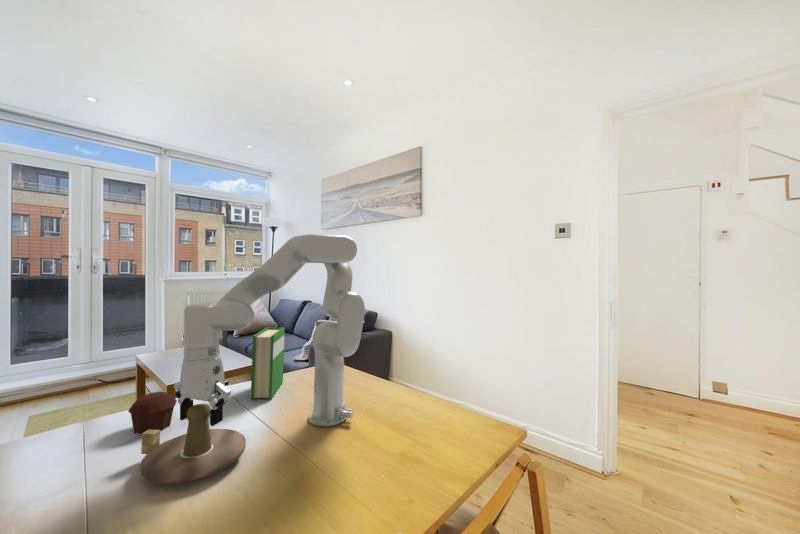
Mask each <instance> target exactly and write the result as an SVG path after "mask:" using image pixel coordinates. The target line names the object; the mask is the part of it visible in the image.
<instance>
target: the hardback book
mask: <svg viewBox="0 0 800 534" xmlns="http://www.w3.org/2000/svg"><path fill="white" fill-rule="evenodd" d="M285 332H286V331H285V327H265V328H264V329H262V330H260V331H258V332H257V333H255V334H253V335H252V353H251V354H252V355H251V356H252V357H251V381H250V383H251V385H250V401H255V400H256V399H268V401H272V400H273V399H274V397H275V396H274V395H276V394H277V393H278V391H279V390H280V389H281V387H282V386H283V384H284V383H283V382H284V358H285V357H284V356H285ZM282 383H283V384H282ZM281 385H282V386H281ZM280 386H281V387H280ZM278 389H279V390H278ZM276 392H277V393H276ZM272 398H273V399H272Z"/></svg>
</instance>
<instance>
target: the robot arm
mask: <svg viewBox="0 0 800 534" xmlns="http://www.w3.org/2000/svg"><path fill="white" fill-rule="evenodd" d="M357 252H358V246H357V243H356V242H355V240H354V239H353V238H352V237H350V236H347V235H330V234H328V235H327V234H310V233H309V234H301V235H296V236H293V237H291V238H290V239H288V240H287V241H286V242H285V243H284V244H283V245H282V246H281V247H279V248H278V250H277V251H275V252H274V253H273V254H272V255H271V256H270V257H269V258H268V259H267V260H266V261H265V262H264V263H263V264H262V265H260V267H258V268H257V269H255V270H254V271H253V272H251V273H249V275H248V276H246V277H244V278H243V279H241V280H240V281H239V282H238V283H236V284H235V285H234V286H233V287H232V288H230V290H228V292H226V293H225V294H224V295H223V296H222V298H220V299H219V300H218V301H217V302H216V303H211V302H199V303H192V304H191V303H190V304H188V305H186V306H185V308H184V310H183V359H182V363H181V369H180V379H179V381H177V382H176V383H174V384H173V388H174V391H175V396H176V397H177V399H178V400H177V402H178V404H179V420H180V421H184V420H187V411H188V409H189V408H190V407H192V406H194V400H196V401H204V402H208V405H209V406H210V408H211V410H210V416H209V427H210V426H211V427H214V426H216V425H218V424H220V423H221V422H223V419H224V418H223V417H224V410H223V409H224V406H225V405H226V403H227V402H228V400H229V398H230V395H231V394H232V393H231V389H229V388H228V387H227V386H226V384H225V383H226V382H225V370H224V364H223V360H222V357H221V356H220V354H221V349H220V344H219V343H220V331H240V330H245V329H246V328H248V327H249V326H250V325H251V324H252V323H253V321H254V319H255V312H254V309H253V307H252V305H253V304H254V303H255V302H256V301H258V300H259V299H261V298H262V297H264V296H266V295H267V294H271V293H273V292H276V291H278V290H280V289H282V288H283V287H285V286H286V285H287V284H288V282H289V281H290V280H291V279H292V278H293V277H294V276H295V275H296V274H297V273H298V272H299V271H300V270H301V269H302V268H303V267H304V266H305V265H306V264H323V266H324V268H325V269H326V274H327V276H326V277H327V278H326V283H325V284H326V285H325V289H324V290H325V291H324V297H323V301H322V311H323V313H324V315H325V316H327V317H329V318H332V319H335V320H336V322H332V321H325V322H322V323H320V324H319V325H318V326H317V327H316V328H315V330H314V332H313V336H312V337H313V338H312V343H313V351H314V352H313V353H314V387H313V410H312V411H310V413H308V417H307V420H308V422H309V423H310V424H311V425H314V426H318V427H334V426H337V425H339V423H340V424H342V423H344V422H345V421H346V420H347V419H353V416H354V411H353V410H354V409H353V408H347V406H346V405H347V404H346V402H344V379H345V358H348V357H351V356H352V355H354V354H355V353H356V352H357V350H358V348H359V346H360V344H361V343H360V342H361V339H362V333H363V327H364V326H363V325H364V320H365V311H366V306H365V302H364V301H365V300H364V299H363V297H362V296H361V295H360V294H359V293H357V292H354V291H352V287H353V286H352V284H353V270H352V267H351V265H350V263H349V262H352V261H353V260H354V259H355V257H356V255H357ZM215 399H216V401H217V402H216V401H215ZM345 419H346V420H345ZM344 420H345V421H344ZM341 422H342V423H341Z"/></svg>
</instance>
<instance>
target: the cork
mask: <svg viewBox="0 0 800 534" xmlns="http://www.w3.org/2000/svg"><path fill="white" fill-rule="evenodd" d="M211 409H212V407H211V405H210V404H209V403H197V404H193V406H192V407H190V408H189V409H188V411H187V418H186V420H187V421H188V425H187V431H186V434H187V435H186V440H185V446H184V451H183V455H184V456H187V457H194V456H199V455H202V454H204V453H206V452H208V451H209V450H210V449H211V448H212V446H211V437H210V429H211V428H210V419H209V418H210V410H211Z"/></svg>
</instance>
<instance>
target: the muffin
mask: <svg viewBox="0 0 800 534" xmlns="http://www.w3.org/2000/svg"><path fill="white" fill-rule="evenodd" d="M177 402H178V400H177V399H176V398H175V396H174V395H172V394H171V393H168V392H165V391H155V392H151V393H146V394H145V395H142V396H141V397H139V398H137V399H136V400H135V401H134V403H132V405H131V406H130V407H129V409H128V412H129V413H130V416H131V422H132V427H133V433H134V434H137V433H138V434H137V435H139V434H142V433H144V432H146V431H147V430H160V432H162V431H164V430H165V429H167V428H169V427H170V426H171V423H172V417H173V413H174V407H175V406H176V404H177Z"/></svg>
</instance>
